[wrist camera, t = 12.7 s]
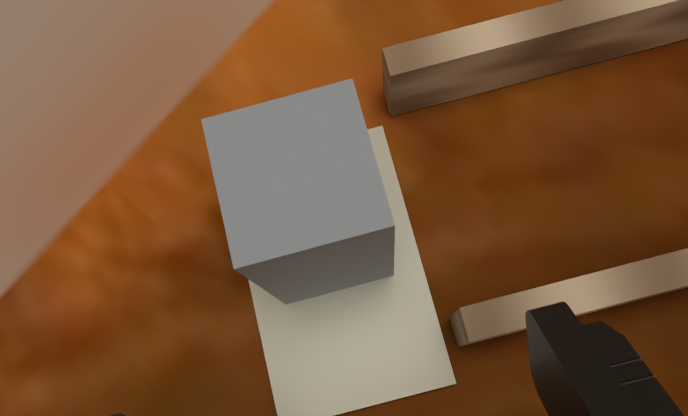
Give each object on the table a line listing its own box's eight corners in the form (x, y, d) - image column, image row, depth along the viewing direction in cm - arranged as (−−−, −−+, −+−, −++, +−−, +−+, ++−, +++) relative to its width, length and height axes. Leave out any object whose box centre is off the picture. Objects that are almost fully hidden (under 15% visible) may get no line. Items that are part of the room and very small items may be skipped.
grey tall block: (364, 173, 27) (352, 78, 19) (393, 275, 26) (394, 225, 17) (261, 200, 27) (201, 119, 19) (285, 304, 26) (233, 269, 17)
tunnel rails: (690, 11, 29) (736, -45, 25) (800, 258, 26) (872, 237, 22) (383, 92, 29) (382, 48, 25) (457, 347, 26) (469, 342, 22)
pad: (382, 129, 28) (382, 125, 28) (455, 383, 25) (456, 383, 25) (227, 170, 28) (224, 167, 28) (282, 428, 25) (280, 429, 25)
